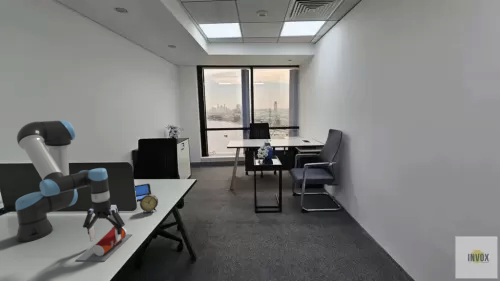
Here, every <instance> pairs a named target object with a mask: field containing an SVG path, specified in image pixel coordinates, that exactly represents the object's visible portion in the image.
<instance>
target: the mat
mask: <svg viewBox="0 0 500 281" xmlns="http://www.w3.org/2000/svg"><path fill="white" fill-rule="evenodd" d="M131 237H133V234H131V233H130V234H128V233H126V236H125V238H123V239H121V240H120V241H119V242H118V243H117V244H116V245H114V246H113V247H112V248H111V249H110V250H109V251H107V252H106V253H105V254H104V255H102V256H98V255H96V254H95V253H94V252H93V247H94V246H95V245H96V244H97V243H98V242H96V243H95V244H94V245H92V246H91V247H90V248H89V249H88V250H87V251H85V252H84V253H82V254H81V255H80V256H79V257H77V258H76V259H75V262H106V261H107V260H108V259H109V258H110V257H111V256H112V255H114V253H115V252H116V251H117V250H118V249H120V247H122V246H123V245H124V244H125V243H126V242H127V241H128V240H129V239H130V238H131Z"/></svg>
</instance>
